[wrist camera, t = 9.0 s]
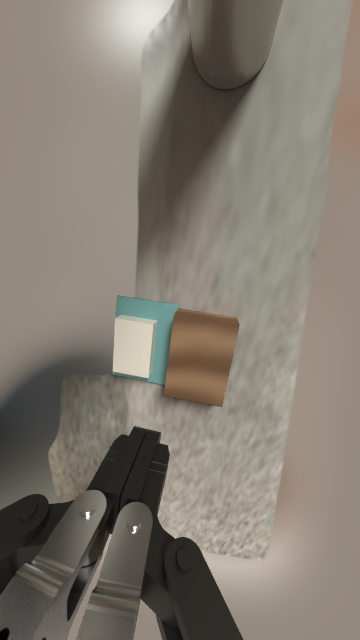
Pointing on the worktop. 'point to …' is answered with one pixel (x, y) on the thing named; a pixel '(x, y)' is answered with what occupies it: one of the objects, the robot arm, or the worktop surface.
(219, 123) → the worktop surface
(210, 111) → the worktop surface
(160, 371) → the mat
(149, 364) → the tile
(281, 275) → the worktop surface
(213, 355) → the board
